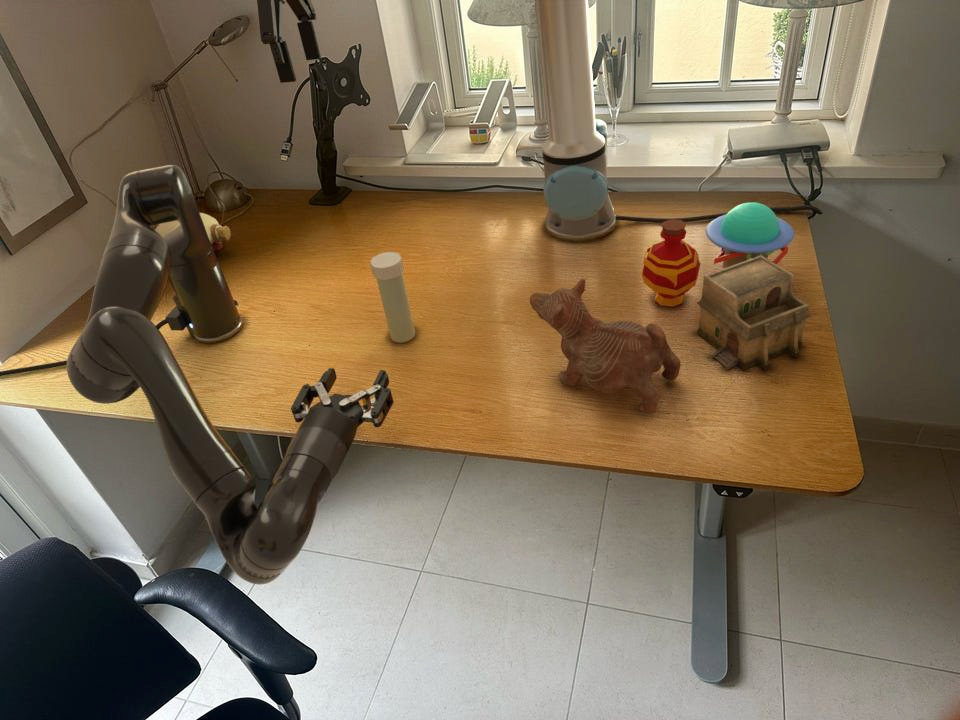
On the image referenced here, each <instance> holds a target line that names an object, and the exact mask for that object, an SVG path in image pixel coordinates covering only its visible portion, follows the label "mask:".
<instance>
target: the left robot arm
mask: <svg viewBox="0 0 960 720" xmlns="http://www.w3.org/2000/svg"><path fill="white" fill-rule="evenodd" d="M200 213H201V212H200V210H199V208H198V205H197V202H196V198H195V196H194V192H193V190H192V186H191V185H190V181H189V179H188V177H187V175H186V173H185V171H184V170H183V169H182V168H181V167H180V166H179V165H177V164H165V165H161V166H155V167H150V168H145V169H140V170H133V171H131V172H129V173H127V174H125V175H124V176H123V177H122V179H121V181H120V183H119V187H118V194H117V202H116V209H115V214H114V215H115V217H114V221H113V224H112V228H111V231H110V235H109V238H108V240H107V243H106V246H105V248H104V252H103V255H102V258H101V260H100V263H99V268H98V272H97V276H96V280H95V284H94V289H93V293H92V299H91V304H90V309H89V313H88V317H87V319H86V321H85V324H84V327H83V329H82V330H81V333H80V334H79V336H78V338H77V340H76V341H75V343H74V344H73V346H72V348H71V350H70V352H69V353H68V356H67V359H66V360H61V361H55V362H49V363H44V364H38V365H32V366H31V365H30V366H25V367H20V368H11V369H7V370H1V371H0V377H4V376H12V375H18V374H24V373H30V372H35V371H41V370H42V371H43V370H46V369H53V368H54V369H55V368H59V367H65V366H66V373H67V377H68V380H69V381H70V384H71V385H72V387H73V388H74V389H75V391H77V393H78V394H79V395H80V396H82V397H83V398H85V399H87V400H88V401H91V402H93V403H96V404H105V405H106V404H107V405H108V404H116V403H119V402H121V401H124V400H126V399H127V398H130V397H131V396H132V395H133V394H134V393H136V392H137V391H138V390H139V389H141V391H142V392H143V394H144V396H145V398H146V400H147V402H148V405H149V407H150V410H151V412H152V416H153V418H154V421H155V424H156V426H157V427H156V428H157V431H158V436H159V439H160V444H161V447H162V451H163V453H164V457H165V459H166V462H167V465H168V466H169V467H168V468H169V469H170V471H171V473H172V474H173V476H174V477H175V479H176V481H177V483H179V485H180V486H181V488H182V489H183V490H184V491H185V493H186V494H187V496H188V497H189V498H190V500H191V501H192V502H193V504H195V505H196V507H197V508H198V509H199V510H200V512H201V513H202V514H203V515H204V517H205V521H206V522H207V525H208V527H209V530H210V532H211V535H212V537H213V538H214V541H215V543H216V545H217V547H218V549H219V551H220V553H221V555H222V557H223V559H224V560H225V562H226V564H227V565H228V566H229V568H230V569H231V571H232V572H234V573H235V575H237V576H238V577H239V578H240V579H242V580H243V581H245V582H247V583H249V584H253V585H266V584H271V583H272V582H273V581H275V580H277V579H278V578H279V577H280V576H281V575H282V574H283V573H284V572H285V571H286V569H287V568H288V567H289V566H290V564H291V563H293V561H294V560H295V559H296V558H297V557H298V556H299V554H300V553H301V551H302V549H303V548H304V545H305V544H306V542H307V540H308V538H309V535H310V533H311V530H312V527H313V525H314V521H315V518H316V516H317V515H316V514H317V511H318V508H319V506H320V505H321V503H322V501H323V500H324V497H325V495H326V494H327V491H328V489H329V487H330V485H331V484H332V481H333V479H334V478H335V477H336V475H337V474H338V473H339V471H340V468H341V466H342V464H343V463H344V460H345V459H346V456H347V455H348V452H349V451H350V448H351V446H352V444H353V442H354V439H355V438H356V434H357V431H358V428H359V427H360V426H361V425H363V424H364V423H371V424H373V427H374V428H381V427H382V426H383V423H384V422H385V420H386V419H387V416H388V415H389V412H390V410H391V409H392V407H393V405H394V403H395V402H394V401H395V400H394V398H393V394H392V390H391V388H390V387H389V385H390V378H389V374H388V372H386V370H385V369H380V370H379V371H378V373H377V375H376V377H375V379H374V381H373V383H372V386H371V387H369V388H368V389H366V390H364V389H361V390H358V392H356V393H354V394H340V393H333V394H331V395H329V393H330V392H331V390H332V388H333V386H334V385H335V383H336V381H337V378H338V377H337V372H336V369H335V368H334V367H328V369H327V370H326V371H324V372H323V374H322V375H321V377H320V378H319V380H318V381H317V382H315V383H314V384H313V385H310V384H309V383H306V384H303V385H302V386H301V388H300V390H299V392H298V394H297V396H296V397H295V400H294V401H293V403H292V405H291V407H290V411H291V413H292V417H293V419H294V421H295V423H301V424H300V425H299V427H298V428H297V430H296V431H295V434H294V436H293V438H292V439H291V441H290V443H289V445H288V447H287V449H286V450H285V453H284V456H283V459H282V460H281V462H280V464H279V466H278V467H277V469H276V471H275V473H274V475H272V478H271V480H270V482H269V484H268V487H267V492H266V494H265V495H264V497H263V499H262V500H261V502H260V503H259V505H258V506H257V504H256V501H255V496H256V489H257V484H256V481H255V480H254V479H255V478H253V476H252V475H251V473H250V472H249V470H248V469H247V468H246V467H245V465H244V464H243V463H242V462H241V460H240V459H239V457H238V456H237V455H236V454H235V452H234V451H233V450H232V449H231V447H230V446H229V445H228V443H227V442H226V441H225V440H224V439H223V437H222V436H221V434H220V433H219V431H217V429H216V427H215V426H214V424H213V423H212V422H211V420H210V419H209V416H208V415H207V413H206V412H205V410H204V408H203V406H202V404H201V403H200V400H199V399H198V397H197V394H195V391H194V390H193V388H192V386H191V383H190V382H189V380H188V378H187V377H186V375H185V373H184V370H183V369H182V367H181V366H180V364H179V362H178V360H177V359H176V356H175V355H174V353H173V351H172V349H171V347H170V346H169V344H168V342H167V340H166V339H165V337H164V335H163V334H162V332H161V331H160V329H161V328H162V327H164V326H166V325H167V324H168V326H169V328H170V330H171V331H177V332H178V331H181V332H183V331H184V330H185V329H186V330H187V332H188V334H189V336H190V338H191V339H195V340H196V341H198V342H199V343H204V344H214V343H215V344H216V343H219V342H222V341H226V340H229V339H230V338H232V337H233V336H235V335H236V334H238V332H240V331H241V329H242V327H243V325H244V321H243V318H242V316H241V314H240V312H239V310H238V307H239V303H238V300H236V299H234V297H233V295H232V292H231V290H230V287H229V285H228V283H227V280H226V278H225V274H224V272H223V270H222V268H221V265H220V263H219V260H218V258H217V256H216V253H215V251H214V250H213V248H212V247H213V244H212V245H211V243H210V240H209V238H208V235H207V232H206V229H205V226H204V223H203V221H202V218H201V216H200ZM177 220H178V221H179V223H180V226H179V227H178V228H177V229H175V230H174V231H172V232H171V233H169V234H167V235H166V236H164V237H162V236H161V235H160V234H159V233H157V232H156V231H155V229H154V228H153V226H155V225H157V226H158V225H159V224H162V223H167V222H172V221H177ZM169 282H170V285H171V287H172V289H173V291H174V293H175V294H174V295H173V296H172V300H173V301H174V304H175V306H174V307H173V308H172V309H171V310H170V311H169V313H168V314H167V315H165V316H164V318H165V319H162V320H161V321H159V322H158V323H157V324H156V325H155V323H154V322H153V321H152V319H153V316H154V315H155V313H156V311H157V309H158V307H159V304H160V303H161V301H162V300H163V299H162V298H163V297H164V294H165V292H166V289H167V286H168V283H169ZM372 396H374V397H372ZM371 397H372V398H371ZM315 398H318V399H319V401H318V402H317V403H316V404H314V405H312V404H313V401H314V400H315ZM360 401H362V405H361V403H360ZM311 405H312V406H311Z"/></svg>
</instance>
